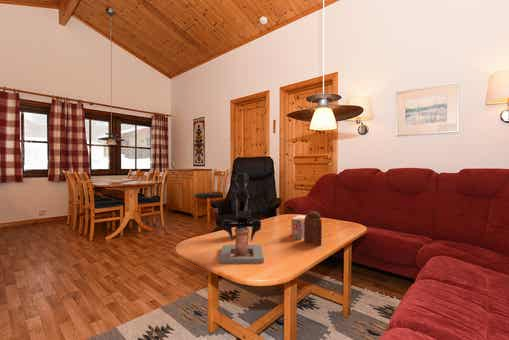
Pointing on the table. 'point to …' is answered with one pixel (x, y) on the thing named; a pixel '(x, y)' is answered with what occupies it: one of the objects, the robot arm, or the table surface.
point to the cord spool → (241, 242)
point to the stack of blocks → (298, 227)
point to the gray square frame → (232, 249)
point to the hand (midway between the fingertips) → (241, 240)
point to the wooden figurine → (313, 228)
